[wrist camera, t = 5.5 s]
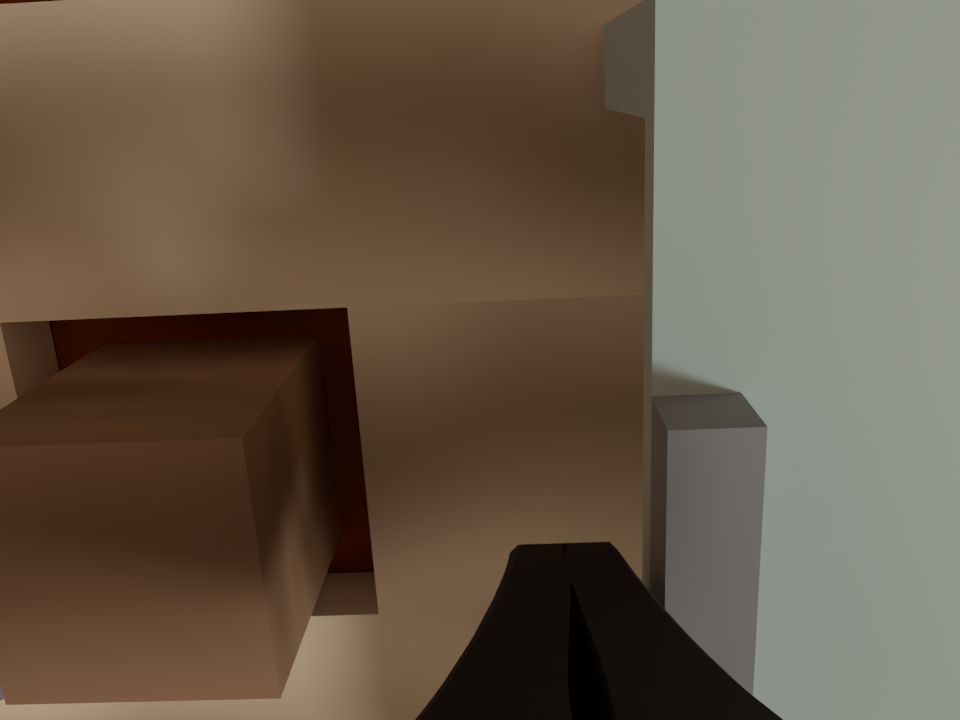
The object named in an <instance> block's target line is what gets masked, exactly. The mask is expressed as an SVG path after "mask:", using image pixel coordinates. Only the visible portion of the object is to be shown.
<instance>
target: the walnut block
mask: <svg viewBox="0 0 960 720" xmlns="http://www.w3.org/2000/svg"><path fill="white" fill-rule="evenodd" d="M341 533H342V532H341V523H340V514H339V506H338V497H337V488H336V479H335V470H334V462H333V453H332V444H331V435H330V426H329V417H328V409H327V400H326V391H325V382H324V373H323V365H322V356H321V347H320V338H319V336H295V337H271V338H247V339H223V340H200V341H176V342H152V343H128V344H104V345H100V346H99V347H97V348H96V349H94V350H93V351H91V352H89V353H88V354H86V355H85V356H83V357H82V358H80V359H78V360H77V361H75V362H74V363H72V364H71V365H69V366H68V367H66V368H64V369H63V370H61V371H60V372H58V373H57V374H55V375H53V376H52V377H50V378H49V379H47V380H46V381H44V382H42V383H41V384H39V385H38V386H36V387H35V388H33V389H32V390H30V391H28V392H27V393H25V394H24V395H22V396H21V397H19V398H17V399H16V400H14V401H13V402H11V403H10V404H8V405H6V406H5V407H3V408H2V409H0V685H1V688H2V692H3V696H4V700H5V704H6V705H24V704H67V703H110V702H154V701H197V700H240V699H281V696H282V693H283V691H284V688H285V685H286V682H287V680H288V677H289V674H290V672H291V669H292V666H293V663H294V661H295V658H296V655H297V653H298V650H299V647H300V644H301V642H302V639H303V636H304V634H305V631H306V628H307V625H308V623H309V620H310V617H311V615H312V612H313V609H314V606H315V604H316V601H317V598H318V596H319V593H320V590H321V587H322V585H323V582H324V579H325V577H326V574H327V571H328V568H329V566H330V563H331V560H332V558H333V555H334V552H335V550H336V547H337V544H338V541H339V539H340V536H341Z"/></svg>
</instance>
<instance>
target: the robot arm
mask: <svg viewBox="0 0 960 720" xmlns="http://www.w3.org/2000/svg"><path fill="white" fill-rule="evenodd" d="M415 720H783V719H782V718H780V717H779V716H778V715H777V714H775V713H774V712H773V711H772V710H770V709H769V708H768V707H766V706H765V705H764V704H763V703H761V702H760V701H759V700H758V699H756V698H755V697H754V696H752V695H751V694H750V693H749V692H748V691H746V690H745V689H744V688H743V687H742V686H741V685H740V684H739V683H737V682H736V681H735V680H734V679H733V678H732V677H731V676H730V675H729V674H728V673H727V672H726V671H724V670H723V669H722V668H721V667H720V666H719V665H718V664H717V663H716V662H715V661H714V660H713V659H712V658H711V657H710V656H709V655H708V654H707V653H706V652H705V651H704V650H703V649H702V648H701V647H700V646H699V645H698V644H697V643H696V642H695V641H694V640H693V639H692V638H691V637H690V636H689V635H688V634H687V633H686V632H685V631H684V629H683V628H682V627H681V626H680V625H679V624H678V623H677V622H676V621H675V620H674V619H673V618H672V616H671V615H670V614H669V613H668V612H667V611H666V610H665V609H664V608H663V606H662V605H661V604H660V603H659V602H658V601H657V600H656V598H655V597H654V596H653V595H652V594H651V592H650V591H649V590H648V589H647V587H646V586H645V585H644V584H643V583H642V581H641V580H640V579H639V578H638V576H637V575H636V574H635V572H634V571H633V570H632V569H631V567H630V566H629V565H628V563H627V562H626V560H625V559H624V558H623V556H622V555H621V554H620V552H619V551H618V549H617V548H616V547H614V546H613V545H612V544H611V543H610V542H582V543H552V544H522V545H517V546H516V547H515V548H514V549H513V550H512V551H511V552H510V554H509V559H508V563H507V566H506V569H505V572H504V575H503V577H502V580H501V582H500V585H499V587H498V589H497V591H496V593H495V596H494V598H493V600H492V602H491V604H490V606H489V608H488V610H487V612H486V613H485V615H484V617H483V619H482V621H481V623H480V625H479V626H478V628H477V630H476V632H475V634H474V636H473V637H472V639H471V641H470V642H469V644H468V646H467V647H466V649H465V650H464V652H463V653H462V655H461V656H460V658H459V659H458V661H457V663H456V664H455V666H454V667H453V669H452V670H451V672H450V673H449V675H448V676H447V678H446V679H445V681H444V682H443V684H442V685H441V687H440V688H439V689H438V691H437V692H436V693H435V695H434V696H433V697H432V699H431V700H430V701H429V703H428V704H427V705H426V707H425V708H424V709H423V710H422V712H421V713H420V714H419V715H418V717H417V718H416V719H415Z"/></svg>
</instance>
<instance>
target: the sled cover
mask: <svg viewBox="0 0 960 720" xmlns="http://www.w3.org/2000/svg"><path fill="white" fill-rule="evenodd" d="M604 100H605V109H609V110H613V111H617V112H621V113H626V114H630V115H634V116H638V117H642V118H645V223H644V379H643V534H642V583H643V584H644V585H645V586H646V587H647V589H648V590H649V591H650V592H651V594H652V595H653V596H654V597H655V598H656V600H657V601H658V602H659V603H660V604H661V605H662V606H663V608H664V609H665V610H666V611H667V612H668V613H669V614H670V615H671V616H672V618H673V619H674V620H675V621H676V622H677V623H678V624H679V625H680V626H681V627H682V628H683V629H684V631H685V632H686V633H687V634H688V635H689V636H690V637H691V638H692V639H693V640H694V641H695V642H696V643H697V644H698V645H699V646H700V647H701V648H702V649H703V650H704V651H705V652H706V653H707V654H708V655H709V656H710V657H711V658H712V659H713V660H714V661H715V662H716V663H717V664H718V665H719V666H720V667H721V668H722V669H723V670H724V671H726V672H727V673H728V674H729V675H730V676H731V677H732V678H733V679H734V680H735V681H736V682H737V683H739V684H740V685H741V686H742V687H743V688H744V689H745V690H746V691H748V692H749V693H750V694H751V695H752V696H754V697H755V698H756V699H758V700H759V701H760V702H761V703H763V704H764V705H765V706H766V707H768V708H769V709H770V710H772V711H773V712H774V713H775V714H777V715H778V716H779V717H780V718H782V719H783V720H960V0H643V1H642V2H640V3H638V4H637V5H635V6H633V7H632V8H630V9H629V10H627V11H625V12H624V13H622V14H620V15H619V16H617V17H615V18H614V19H612V20H611V21H609V22H607V23H606V24H604Z"/></svg>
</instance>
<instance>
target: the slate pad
mask: <svg viewBox="0 0 960 720" xmlns="http://www.w3.org/2000/svg"><path fill="white" fill-rule="evenodd" d="M3 699H4V696H3V692H2V688H1V685H0V700H3Z"/></svg>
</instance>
